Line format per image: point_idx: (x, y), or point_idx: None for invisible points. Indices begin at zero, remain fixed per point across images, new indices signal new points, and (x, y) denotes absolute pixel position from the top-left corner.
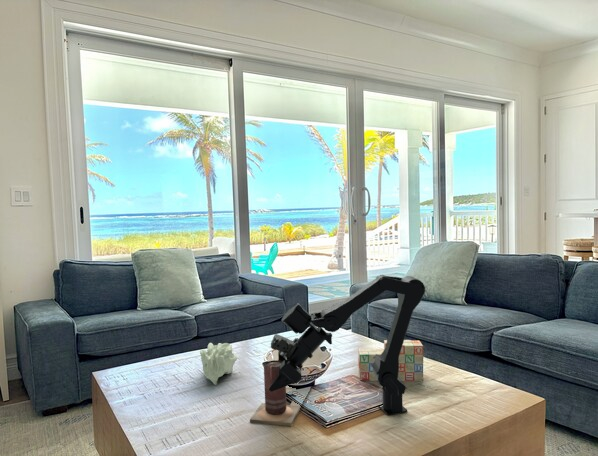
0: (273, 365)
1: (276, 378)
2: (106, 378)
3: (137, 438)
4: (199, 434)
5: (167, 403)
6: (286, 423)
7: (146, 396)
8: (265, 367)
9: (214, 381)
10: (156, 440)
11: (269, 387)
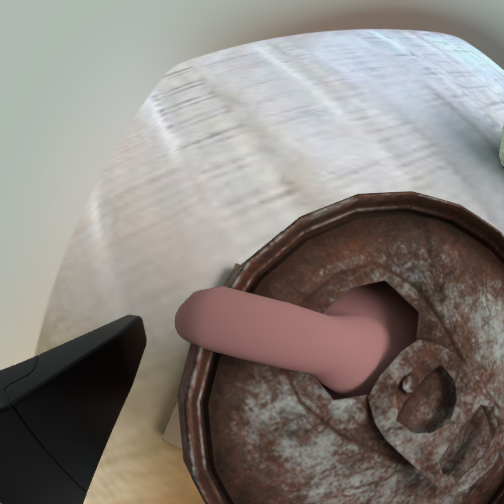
0: (382, 384)
1: (11, 366)
2: (447, 38)
3: (218, 55)
4: (194, 131)
5: (381, 74)
6: (171, 419)
7: (404, 56)
8: (321, 216)
9: (501, 152)
10: (197, 75)
11: (124, 319)
